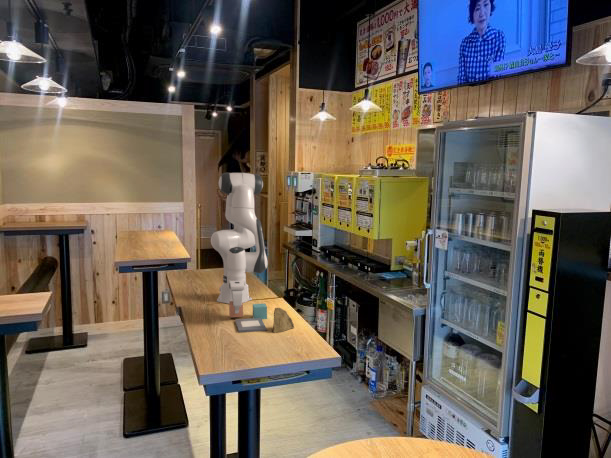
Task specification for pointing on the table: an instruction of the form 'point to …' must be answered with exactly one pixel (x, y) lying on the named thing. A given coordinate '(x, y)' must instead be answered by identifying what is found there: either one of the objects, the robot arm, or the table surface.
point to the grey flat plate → (250, 325)
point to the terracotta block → (232, 310)
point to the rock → (281, 321)
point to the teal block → (260, 311)
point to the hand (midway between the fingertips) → (236, 310)
